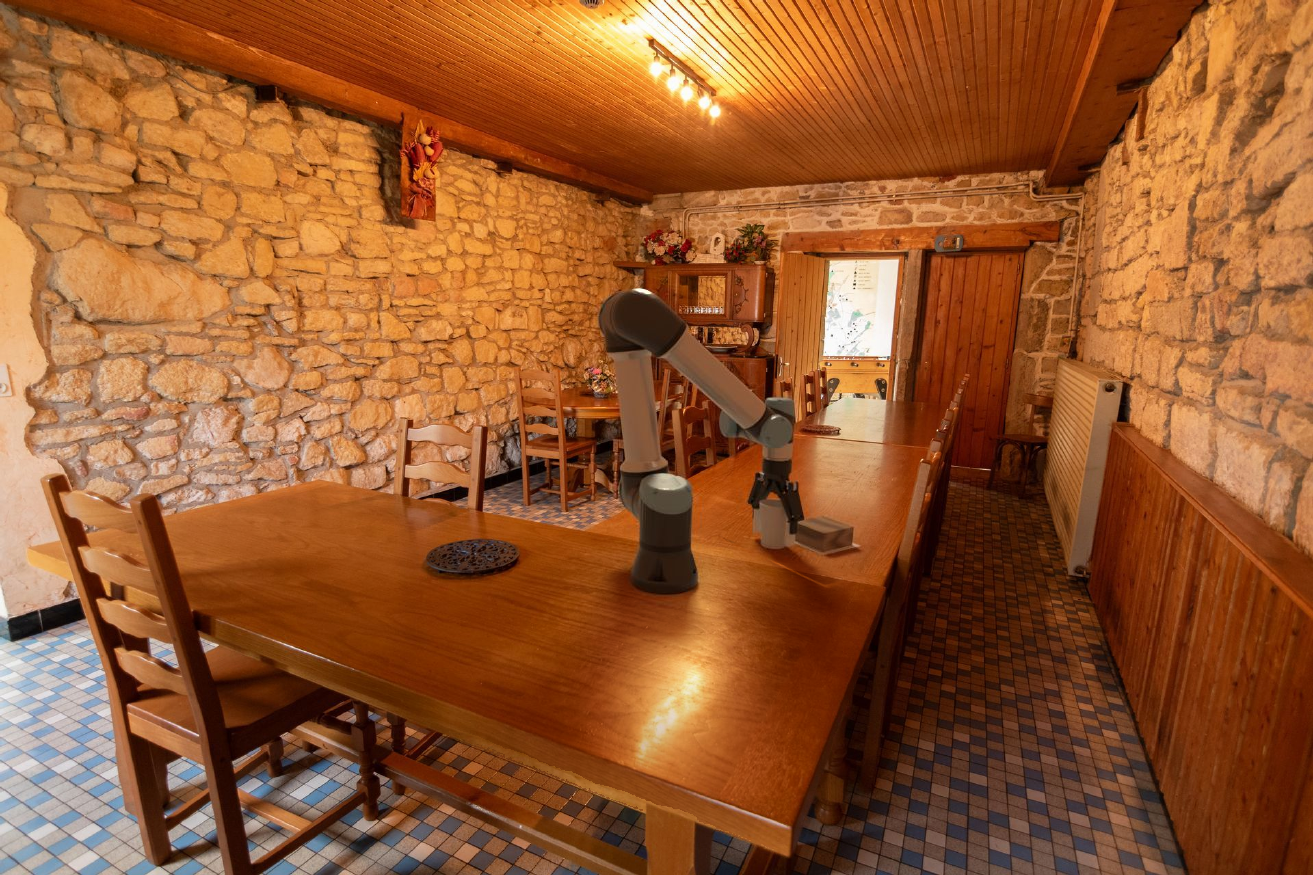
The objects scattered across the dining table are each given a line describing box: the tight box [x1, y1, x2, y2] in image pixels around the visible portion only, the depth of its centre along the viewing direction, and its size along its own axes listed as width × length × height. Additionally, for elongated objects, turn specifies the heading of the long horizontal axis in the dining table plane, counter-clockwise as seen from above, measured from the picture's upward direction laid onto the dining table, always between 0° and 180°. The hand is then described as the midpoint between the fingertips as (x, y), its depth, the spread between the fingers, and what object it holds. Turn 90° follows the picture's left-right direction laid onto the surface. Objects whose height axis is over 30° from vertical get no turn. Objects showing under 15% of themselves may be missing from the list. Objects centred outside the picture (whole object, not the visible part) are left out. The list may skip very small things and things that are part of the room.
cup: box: [760, 498, 788, 550], centre depth 161 cm, size 8×8×12 cm
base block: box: [795, 515, 854, 552], centre depth 164 cm, size 11×11×5 cm
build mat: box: [795, 541, 861, 556], centre depth 165 cm, size 14×14×1 cm
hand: (773, 538), depth 162 cm, fingers open, 12 cm apart
